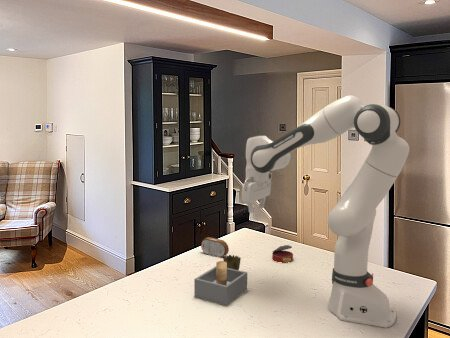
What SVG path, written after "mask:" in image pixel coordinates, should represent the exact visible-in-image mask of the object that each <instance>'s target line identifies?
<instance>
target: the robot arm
mask: <svg viewBox="0 0 450 338" xmlns="http://www.w3.org/2000/svg"><path fill="white" fill-rule="evenodd" d="M400 126H401V117H400V115H399V113H398V112H397V110H396V109H394V108H392V107H390V106H388V105H385V104H382V103H381V104H377V103H376V104H374V103H372V104H367V105H365V104H364V103H363V102H362V100H361V99H360V98H359V97H357V96H355V95H351V94H350V95H346V96H343V97H341V98H338V99H336V100H334V101H332V102H331V103H329V104H327V105H326V106H325V107H322V108H321V109H320V110H319V111H317V112H316V113H314V114H313V115H312V116H310V117H309V118H308V119H307V120H305V121H304V122H302V123H300V124H299V125H298V126H297V127H295V128H293V130H291V131H289V132H287V133H285V134H284V135H282V136H281V137H279V138H277V139H276V140H274V141H273V140H271V139H270V138H269V137H267V136H266V135H264V134H260V135H253V136H250V137H248V139H247V140H246V144H245V159H246V166H245V181H244V183H243V184H242V189H241V202H242V203H244V204H246V205H247V208H248V213H249V214H253V213H254V212H255V207H254V203H255V202H256V201H259V204H258V209H264V208H265V202H266V199H267V198H266V197H269V196H270V195H271V192H272V179H273V173H272V172H271V171H277V170H280V169H284V168H286V167H288V166H289V164H291V160H292V154H291V153H293V152H294V151H295V150H297V149H299V148H302V147H304V146H309V145H315V144H323V143H326V142H329V141H332V140H334V139H336V138H338V137H340V136H341V135H343V134H345V133H346V132H348V131H350V130H352V129H355V131H356V132H357V133H358V134H359V136H361V137H362V138H363V139H364V140H365V141H366V142H367V143H368V144H369V145H370V146H371V150H370V152H369V153H368V155H367V157H366V159H365V160H364V162H363V163H362V166H361V167H360V168H359V170H358V173H357V175H356V176H355V178H354V179H353V181H352V182H351V184H350V185H349V186H348V187H347V188H346V190H345V191H344V193H343V194H342V196H341V197H340V198H339V200H338V201H337V202H336V204H335V206H334V207H333V208H332V209H331V211H330V212H329V214H328V216H327V221H326V222H327V225H328V228H329V229H330V231H331V232H332V233H333V234H334V235H336V236H337V241H336V243H335V245H334V255H333V256H334V257H333V258H334V259H333V268H332V271H331V284H332V286H331V293H330V296H329V300H328V303H327V309H328V310H329V311H330V312H331V313H333V314H334V315H336V316H337V318H338V319H339V320H340V321H345V322H349V323H357V324H361V325H362V324H363V325H368V326H369V325H370V326H373V327H374V326H375V327H381V328H390V327H392V326H393V325H394V324H395V323H396V320H397V312H396V310H395V309H394V308H393V307H391V306H390V302H389V298H388V296H387V294H386V293H384V292H383V291H382V290H381V289H380V288H379V287H377V286H376V285H375V284H374V273H373V272H372V273H370V272H369V271H368V264H369V263H368V261H369V248H370V244H371V243H370V242H371V240H372V239H371V238H372V233H373V229H374V222H375V218H376V215H377V207H378V206H379V205H380V204H381V202H382V201H383V200H384V198H385V197H386V196H387V195H388V193H389V191H390V189H391V187H392V186H394V185H393V184H394V183H395V181H396V180H397V179H398V176H399V174H401V172H402V169H403V168H404V166H405V163H406V161H407V159H408V156H409V153H410V145H409V144H408V142H407V141H406V140H405V139H404V138H403V137H400V136H399V135H398V134H397V132H398V131H399V129H400Z"/></svg>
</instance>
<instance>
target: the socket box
mask: <svg viewBox="0 0 450 338" xmlns="http://www.w3.org/2000/svg"><path fill="white" fill-rule="evenodd" d="M193 282H194V287H193V288H194V298H197V299H201V300H203V301H208V302H211V303H214V304H217V305H218V304H219V305H222V306H226V307H227V306H229V305H230V304H231V303H232V302H234V301H235V300H236V299H237V298H239V297H240V296H241V295H242V294H244V293H245V292H246V291H247V290H248V272H247V271H243V270H240V269H239V270H234V269H230V268H227V285H222V284H217V283H216V265H215V266H214V267H212V268H211V269H209V270H207V271H205V272H204V273H202V274H200V275H199V276H197V277H195V278H194V281H193Z"/></svg>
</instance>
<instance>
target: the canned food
mask: <svg viewBox="0 0 450 338" xmlns="http://www.w3.org/2000/svg"><path fill="white" fill-rule="evenodd" d="M292 248H293V246H292V245H288V244H287V245H285V244H284V245H280V246H278V247H277V248H275V249H274V250H272V251H271V253H272V254H271V255H272V257H271V258H272V259H273V260H274V261H273V260H272V261H273V262H275V261H277V262H276V263H278V262H282V263H281V264H289V263H288V262H290V263H292V262H293V261H294V253H293V252H291V251H288V250H290V249H292ZM291 261H292V262H291Z"/></svg>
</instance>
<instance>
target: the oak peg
mask: <svg viewBox="0 0 450 338" xmlns="http://www.w3.org/2000/svg"><path fill="white" fill-rule="evenodd" d="M215 266H216V283H217V284H222V285H227V262H224V261H222V260H219V261H216V265H215Z"/></svg>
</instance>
